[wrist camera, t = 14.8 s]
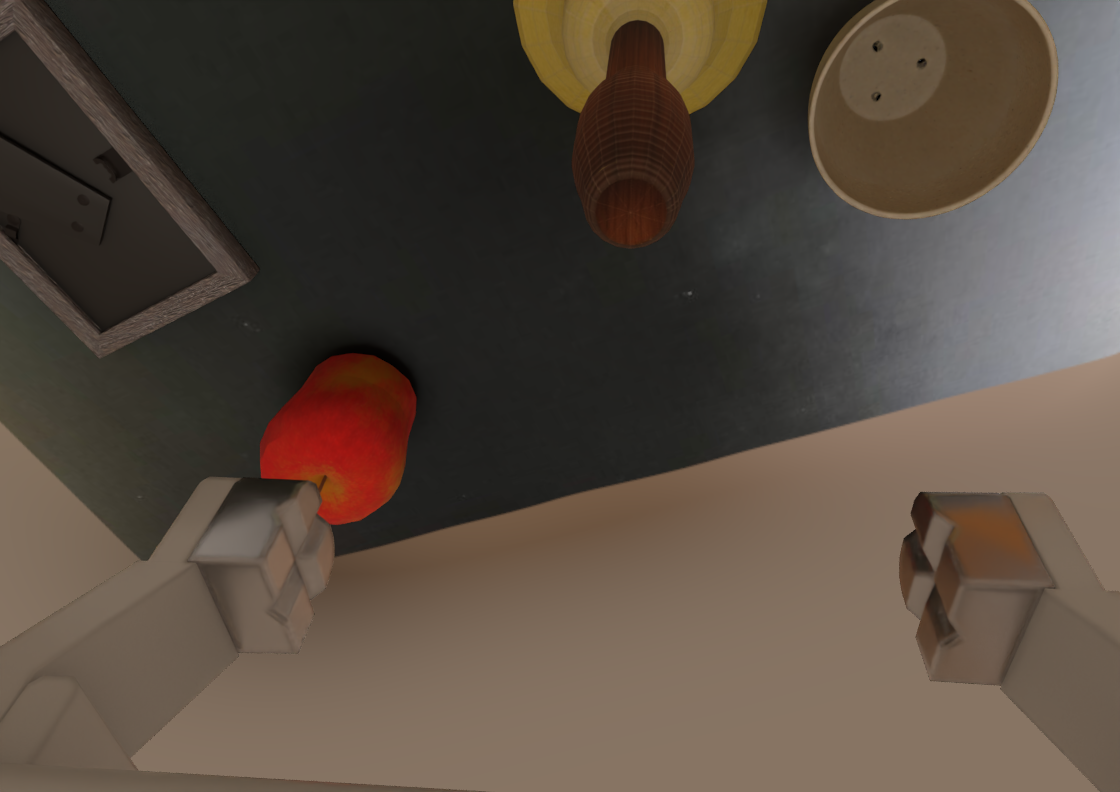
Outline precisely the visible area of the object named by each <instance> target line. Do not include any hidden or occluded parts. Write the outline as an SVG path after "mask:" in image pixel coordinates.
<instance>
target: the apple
mask: <svg viewBox="0 0 1120 792" xmlns="http://www.w3.org/2000/svg"><path fill="white" fill-rule="evenodd" d="M415 414H416V395H415V393H414V391H413V388H412V386H411V384H410V381H409V380H408V379H407V378H406V377H405V376H404V375H402V374H401V373H400V372H399V371H398V370H397V369H396V368H395V367H394V366H392V365H390V364H389V363H387V362H385V361H383V360H381V359H380V358H378V357H376V356H373V355H365V354H356V353H348V354H343V355H337V356H331V357H330V358H328V359H327V360H325V361H324V362H322V363H320V364H319V365H317V366H316V367H315V369H314V370H313V372H312V373H311V375H310V376H309V378H308V379H307V381H306V382H305V384H304V385H303V387H302V388H301V389H300V390H299V391H298V392H297V393H296V394H295V395H294V396H293V397H292V398H291V399H290V400H289V401H288V402H287V403H286V404H285V405H284V406H283V407H282V409H281V410H280V411H279V412H278V413H277V414H276V415H275V417H274V418H273V419H272V420H271V421H270V422H269V424H268V426H267V428H266V431H265V433H264V435H263V438H262V440H261V442H260V463H261V478H269V479H292V480H309V481H312V482H314V483H316V484H317V487H318V490H319V493H320V495H321V498H322V503H321V505H320V507H319V510H318V512H317V514H319V515H320V516H321V517H322V518H323V519H325V520H326V521H327V522H328V523H329V524H336V525H339V524H344V523H349V522H354V521H359V520H361V519H363V518H364V517H366V516H367V515H369V514H370V513H372V512H374V511H375V510H377V509H378V508H379V507H380V506H382V505H383V504H384V503H386V502H387V501H388V500H390V498H391V497H392V495H393V494H394V492H395V491H396V490H397V488H398V487H399V485H400V482H401V478H402V475H403V471H404V468H405V461H406V452H407V443H408V437H409V434H410V430H411V427H412V424H413V421H414V418H415Z"/></svg>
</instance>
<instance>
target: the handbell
mask: <svg viewBox="0 0 1120 792" xmlns="http://www.w3.org/2000/svg"><path fill="white" fill-rule="evenodd" d="M766 4H767V0H514V2H513V6H514V10H515V15H516V20H517V25H518V30H519V35H520V39H521V44H522V47H523V49H524V50H525V52H526V54H527V56H528V58H529V60H530V62H531V63H532V65H533V67H534V69H535V71H536V73H537V75H538V76H539V78H540V80H541V81H542V82H543V83H544V84H545V85H546V86H547V87H548V88H549V89H550V90H551V91H552V92H553V93H554V94H555V95H556V96H557V97H558V98H559V99H560V100H561V101H562V102H563V103H564V104H565V105H566V106H567V107H569V108H571V109H573V110H575V111H577V112H579V113H581V114H580V117H579V121H578V125H577V132H576V139H575V142H574V149H573V157H572V170H573V175H574V180H575V185H576V188H577V192H578V194H579V196H580V199H581V202H582V206H583V209H584V212H585V216H586V219H587V221H588V223H589V225H590V226H591V228H592V230H593V231H594V232H595V233H596V234H597V235H598V236H599V237H600V238H601V239H602V240H604V241H606V242H608V243H610V244H612V245H614V246H616V247H623V248H630V249H631V248H639V247H645V246H647V245H649V244H652V243H654V242H656V241H658V240H659V239H660V238H662V237H663V236H664V235H665V234H666V233H667V232H668V231H669V230H670V228H671V227H672V225H673V223H674V222H675V220H676V218H677V215H678V212H679V209H680V207H681V204H682V201H683V199H684V197H685V195H686V193H687V191H688V188H689V185H690V182H691V178H692V174H693V169H694V162H695V160H694V150H693V140H692V130H691V122H690V116H689V114H691V113H693V112H695V111H697V110H699V109H701V108H703V107H705V106H707V105H708V104H709V103H710V102H711V101H712V100H713V99H714V98H715V97H716V96H717V95H718V94H719V93H720V92H721V91H723V90H724V89H725V88H726V87H727V86H728V85H729V84H730V83H731V82H732V81H733V80H734V79H735V78H736V77H737V75H738V73H739V72H740V70H741V68H742V67H743V65H744V63H745V61H746V60H747V58H748V56H749V55H750V53H751V51H752V49H753V48H754V46H755V44H756V43H757V40H758V36H759V32H760V28H761V24H762V20H763V16H764V12H765V8H766Z"/></svg>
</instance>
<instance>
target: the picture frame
mask: <svg viewBox="0 0 1120 792" xmlns="http://www.w3.org/2000/svg"><path fill="white" fill-rule="evenodd" d="M0 259H1V260H2V261H3V262H4V263H5V264H6V265H7V266H8V267H9V268H10V269H11V270H12V271H13V272H14V273H15V274H16V275H17V276H18V277H19V278H20V279H21V280H22V281H23V282H24V283H25V284H26V285H27V286H28V287H29V288H30V289H31V290H32V291H33V292H34V293H35V294H36V295H37V296H38V297H39V298H40V299H41V300H42V301H43V302H44V303H45V304H46V305H47V306H48V307H49V308H50V309H51V310H52V311H53V312H54V313H55V314H56V315H57V316H58V317H59V318H60V319H61V320H62V321H63V322H64V323H65V324H66V325H67V326H68V327H69V328H70V329H71V330H72V331H73V332H74V333H75V334H76V335H77V336H78V337H79V338H80V340H81V341H82V342H83V343H84V344H85V345H86V346H87V347H88V348H89V349H90V350H91V351H92V352H93V353H94V354H95V355H96V356H97V357H98V358H99V359H100V358H102V357H104V356H106V355H108V354H110V353H112V352H114V351H116V350H118V349H120V348H121V347H123V346H125V345H127V344H129V343H131V342H133V341H135V340H137V339H139V338H141V337H143V336H145V335H147V334H149V333H151V332H153V331H155V330H157V329H159V328H160V327H162V326H164V325H166V324H168V323H170V322H172V321H174V320H176V319H178V318H180V317H182V316H184V315H186V314H188V313H190V312H192V311H194V310H196V309H198V308H199V307H201V306H203V305H205V304H207V303H209V302H211V301H213V300H215V299H217V298H219V297H221V296H223V295H225V294H227V293H229V292H231V291H233V290H235V289H237V288H238V287H240V286H242V285H244V284H246V283H248V282H250V281H251V280H252V279H253V277H254V276H255V275H256V274H257V273H258V271H259V270H260V269H259V267H258V266H257V265H256V264H255V262H254V261H253V260H252V259H251V257H250V256H249V255H248V254H247V252H246V251H245V250H244V249H243V247H242V246H241V245H240V244H239V243H238V241H237V240H236V239H235V238H234V236H233V235H232V234H231V233H230V231H229V230H228V229H227V228H226V226H225V225H224V224H223V223H222V221H221V220H220V219H219V218H218V216H217V215H216V214H215V213H214V211H213V210H212V209H211V208H210V206H209V205H208V204H207V203H206V201H205V200H204V199H203V198H202V197H201V195H200V194H199V193H198V192H197V190H196V189H195V188H194V187H193V185H192V184H191V183H190V182H189V180H188V179H187V178H186V177H185V175H184V174H183V173H182V172H181V170H180V169H179V168H178V167H177V165H176V164H175V163H174V162H173V160H172V159H171V158H170V157H169V155H168V154H167V153H166V152H165V151H164V149H163V148H162V147H161V146H160V144H159V143H158V142H157V141H156V139H155V138H154V137H153V136H152V134H151V133H150V132H149V131H148V129H147V128H146V127H145V126H144V124H143V123H142V122H141V121H140V119H139V118H138V117H137V116H136V114H135V113H134V112H133V111H132V109H131V108H130V107H129V106H128V104H127V103H126V102H125V101H124V100H123V98H122V97H121V96H120V95H119V93H118V92H117V91H116V90H115V88H114V87H113V86H112V85H111V83H110V82H109V81H108V80H107V78H106V77H105V76H104V75H103V73H102V72H101V71H100V70H99V68H98V67H97V66H96V65H95V63H94V62H93V61H92V60H91V58H90V57H89V56H88V55H87V54H86V52H85V51H84V50H83V49H82V47H81V46H80V45H79V44H78V42H77V41H76V40H75V39H74V37H73V36H72V35H71V34H70V32H69V31H68V30H67V29H66V27H65V26H64V25H63V24H62V22H61V21H60V20H59V19H58V17H57V16H56V15H55V14H54V12H53V11H52V10H51V9H50V8H49V6H48V5H47V4H46V3H45V1H44V0H0Z"/></svg>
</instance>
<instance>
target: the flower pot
mask: <svg viewBox="0 0 1120 792" xmlns="http://www.w3.org/2000/svg"><path fill="white" fill-rule="evenodd" d="M873 46H876V47H877V51H875V50H874V49H873ZM920 59H925V60H924V61H923V62H921V63H918V61H919V60H920ZM1057 85H1058V58H1057V51H1056V47H1055V43H1054V40H1053V37H1052V35H1051V32H1050V30H1049V28H1048V26H1047V24H1046V22H1045V21H1044V19H1043V18H1042V16H1041V15H1040V13H1039V12H1038V11H1037V10H1036V9H1035V8H1034V7H1033V6H1032V5H1031V4H1030V3H1029V2H1028V1H1027V0H875V1H873V2H872V3H870V4H869V5H867V6H866V7H864V8H863V9H862V10H861V11H859V12H858V13H857V14H856V15H855V16H853V17H852V18H851V19H850V20H849V21H848V22H847V23H846V24H845V25H844V27H843V28H842V29H841V30H840V31H839V32H838V34H837V35H836V36H835V37H834V39H833V40H832V42H831V43H830V45H829V46H828V48H827V50H826V51H825V53H824V55H823V57H822V59H821V61H820V63H819V66H818V69H817V71H816V74H815V77H814V80H813V84H812V88H811V92H810V98H809V106H808V132H809V140H810V146H811V151H812V155H813V158H814V161H815V163H816V166H817V168H818V170H819V172H820V174H821V176H822V177H823V179H824V180H825V182H826V183H827V184H828V185H829V187H830V188H831V189H832V190H833V191H834V192H835V193H836V194H837V195H838V196H839V197H840V198H842V199H843V200H844V201H846V202H847V203H848V204H850V205H852V206H853V207H855V208H857V209H859V210H862V211H864V212H866V213H869V214H872V215H875V216H879V217H884V218H891V219H917V218H925V217H931V216H935V215H939V214H943V213H946V212H949V211H952V210H955V209H957V208H960V207H962V206H964V205H966V204H968V203H970V202H972V201H974V200H976V199H978V198H979V197H981V196H983V195H984V194H986V193H987V192H989V191H990V190H992V189H993V188H994V187H996V186H997V185H999V184H1000V183H1001V182H1002V181H1003V180H1005V179H1006V178H1007V177H1008V176H1009V175H1010V174H1011V173H1012V172H1013V171H1014V170H1015V169H1016V168H1017V167H1018V166H1019V165H1020V164H1021V163H1022V161H1023V160H1024V159H1025V158H1026V157H1027V155H1028V154H1029V153H1030V151H1031V150H1032V148H1033V147H1034V145H1035V144H1036V142H1037V141H1038V139H1039V137H1040V136H1041V134H1042V132H1043V130H1044V128H1045V126H1046V124H1047V121H1048V119H1049V117H1050V114H1051V111H1052V108H1053V105H1054V102H1055V97H1056V92H1057ZM879 94H880V95H881V96H880V98H879V99H878V100H876V97H877V96H878V95H879Z"/></svg>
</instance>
